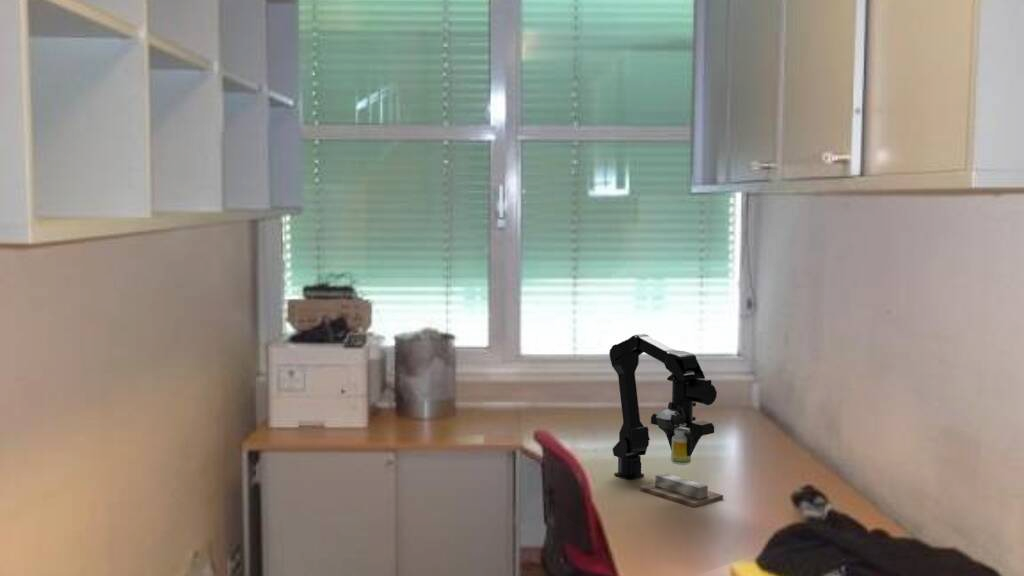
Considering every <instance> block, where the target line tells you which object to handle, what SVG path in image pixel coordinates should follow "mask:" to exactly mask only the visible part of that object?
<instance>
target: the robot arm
mask: <svg viewBox="0 0 1024 576" xmlns="http://www.w3.org/2000/svg"><path fill="white" fill-rule="evenodd" d="M644 353H645V354H646V355H648V356H650V357H651V358H653V359H655V360H657V361H659V362H661V363H662V364H663V365H664V367H665V369H666V370H668V372H670V373H671V374H670V375H669V376H668V377H667V378H666V380H667V381H670V382H672V386H671V389H672V391H671V393H672V394H671V401H669V402H668V405H667V409H664V410H662V411H660V412H656V413H653V414H652V415H651V417H650V424H651V425H654V426H658V428H659V429H660V430H662V431H663V432H664V433H665V436H666V439H667V442H668V444H669V446H670V450H672V437H673V436H674V435H675V433H674V431H675V428H678V427H683V428H688V429H689V432H688V433H684V434H685V436H686V437H687V456H691V457H692V455H693V452H694V450H695V448H696V446H697V444H698V443H699V441H700V439H701V438H702V436H703V437H704V436H706V435H711V434H715V425H714V424H713V423H712V422H709V421H705V420H699V421H696V420H697V419H696V418H697V417H696V416H694V415H693V413H694V409H693V408H694V407H696V406H697V404H700V405H706V406H711V405H712V404H713V403H715V401H716V399H717V394H718V391H717V389H716V387H715V386H714V385H713V384H712V379H710V378H709V379H708V378H706V376H705V373H704V371H703V370H702V368H701V366H700V364H699V362H698V359H697V356H696V355H695V354H694V353H692V352H688V351H685V350H676V349H673V348H671V347H670V346H668V345H666V344H664V343H662V342H660V341H658V340H656V339H654V338H652V337H650V335H649V334H646V333H641V334H634V335H632V336H630V337H629V338H628V339H625V340H623V341H621V342H620V343H619V342H618V344H617V343H616V344H614V345H612V346H611V348H610V349H609V359H610V360H609V361H610V363H611V366H612V368H613V370H614V371H615V372H616V374H617V378H618V386H619V387H618V389H619V393H620V394H619V395H620V403H621V404H620V405H621V412H622V415H621V416H622V421H623V422H622V425H621V427H620V430H619V433H618V435H619V436H618V437H619V439H618V442H616V444H614V446H613V448H612V454H613V457H616V458H618V459H617V461H618V462H617V463H618V465H617V472H614V476H617V477H620V478H623V479H627V480H633V479H636V478H640V477H644V476H645V474H644V473H642V462H641V459H642V458H641V456H645V455H646V453H647V450H648V447H649V444H650V441H651V438H650V436H649V427H648V426H644V425H643V422H641V416H640V415H641V414H640V408H639V398H638V389H637V382H636V381H637V380H636V370H637V369H638V366H639V363H640V360H639V359H640V356H641V355H643V354H644Z"/></svg>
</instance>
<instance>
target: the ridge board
mask: <svg viewBox="0 0 1024 576" xmlns="http://www.w3.org/2000/svg"><path fill="white" fill-rule="evenodd" d="M654 480H655V482H651V483H648V484H644V485H640V486H639V490H640V491H642V492H644V493H648V494H652V495H654V496H657V497H660V498H663V499H668V500H671V501H673V502H677V503H680V504H683V505H686V506H688V507H693V508H696V507H699V506H700V507H701V506H703V505H706V504H710V503H713V502H717V501H720V500H723V499H724V495H723V494H721V493H717V492H714V491H710V490H708V489H709V486H708V485H707V484H703V483H700V482H697V481H694V480H693V481H692V480H689V479H686V478H683V477H679V476H676V475H672V474H669V473H666V472H663V473H659V474H655V479H654Z"/></svg>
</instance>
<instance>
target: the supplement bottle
mask: <svg viewBox="0 0 1024 576" xmlns="http://www.w3.org/2000/svg"><path fill="white" fill-rule="evenodd" d="M688 432H689V428H685V427H681V426H680V427H678V428H675V431H674V433H675V435H674V436H673V437H672V450H671V449H670V450H671V455H670V456H671V457H670V460H671V463H672V464H674V465H677V466H678V465H679V466H680V465H681V466H686V465H690V464H691V461H692V460H691V458H692V455H691V456H687V437H686V436H685V434H684V433H688Z"/></svg>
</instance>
